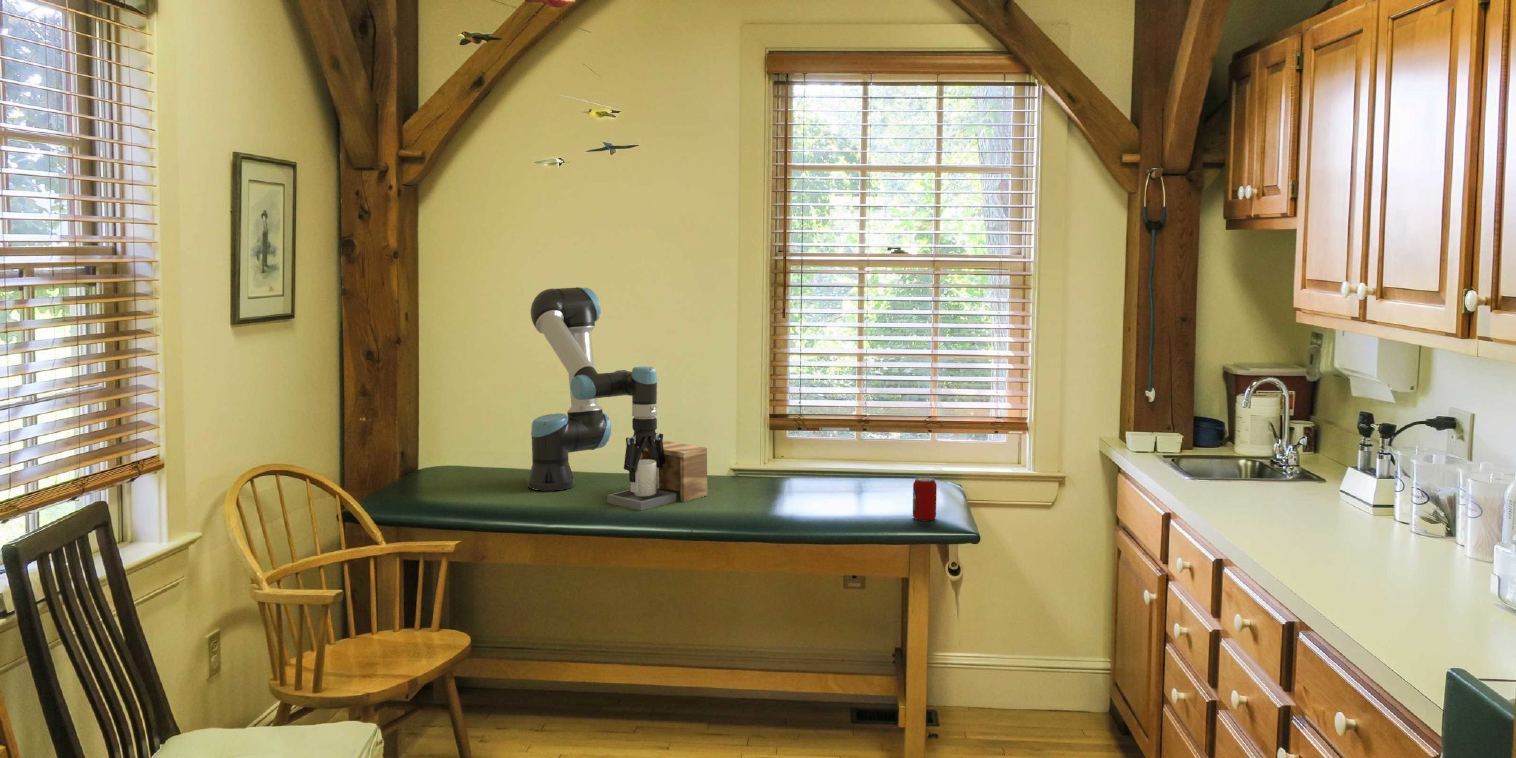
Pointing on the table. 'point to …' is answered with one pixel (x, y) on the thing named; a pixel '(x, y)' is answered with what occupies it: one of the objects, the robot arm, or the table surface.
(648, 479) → the white cup
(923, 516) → the beverage can
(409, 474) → the table surface
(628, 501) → the tray
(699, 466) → the wooden crate
